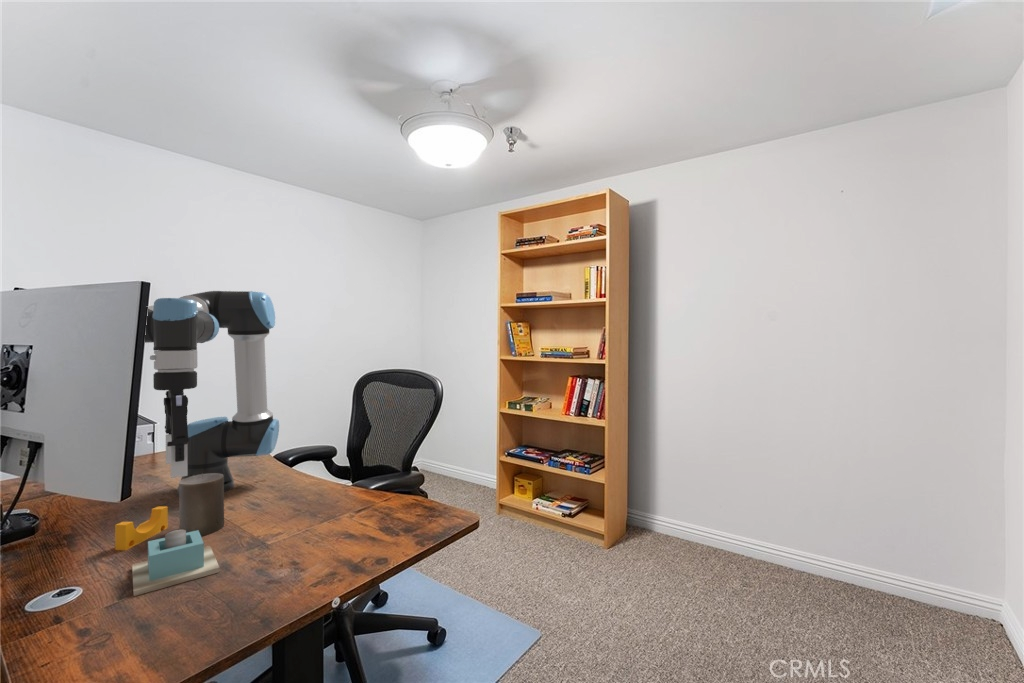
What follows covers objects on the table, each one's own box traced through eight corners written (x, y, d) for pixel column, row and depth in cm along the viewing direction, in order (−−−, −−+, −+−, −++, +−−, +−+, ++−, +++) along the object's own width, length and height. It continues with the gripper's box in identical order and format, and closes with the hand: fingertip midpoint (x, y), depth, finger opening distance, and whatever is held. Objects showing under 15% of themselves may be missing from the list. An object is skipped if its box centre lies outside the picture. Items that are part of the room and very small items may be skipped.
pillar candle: (232, 528, 119) (232, 471, 119) (191, 542, 110) (191, 481, 110) (211, 521, 123) (211, 466, 124) (170, 534, 115) (170, 475, 115)
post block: (132, 569, 97) (132, 531, 97) (209, 549, 106) (209, 515, 106) (133, 596, 87) (133, 554, 87) (219, 572, 96) (219, 534, 96)
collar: (147, 564, 97) (147, 541, 97) (198, 552, 103) (198, 530, 103) (149, 581, 90) (149, 556, 90) (203, 566, 96) (203, 543, 96)
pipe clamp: (151, 531, 117) (151, 506, 117) (167, 531, 117) (167, 506, 117) (108, 552, 105) (108, 524, 106) (125, 552, 105) (125, 525, 105)
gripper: (150, 368, 104) (150, 460, 104) (156, 374, 85) (157, 487, 85) (190, 367, 109) (190, 455, 109) (204, 372, 90) (205, 479, 90)
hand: (176, 469), depth 97 cm, fingers open, 13 cm apart
